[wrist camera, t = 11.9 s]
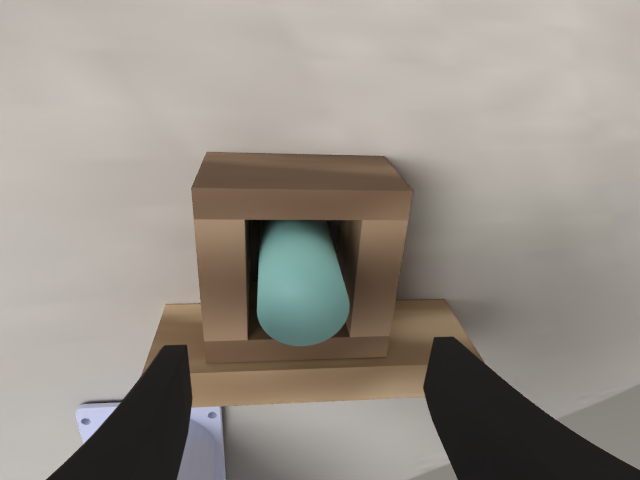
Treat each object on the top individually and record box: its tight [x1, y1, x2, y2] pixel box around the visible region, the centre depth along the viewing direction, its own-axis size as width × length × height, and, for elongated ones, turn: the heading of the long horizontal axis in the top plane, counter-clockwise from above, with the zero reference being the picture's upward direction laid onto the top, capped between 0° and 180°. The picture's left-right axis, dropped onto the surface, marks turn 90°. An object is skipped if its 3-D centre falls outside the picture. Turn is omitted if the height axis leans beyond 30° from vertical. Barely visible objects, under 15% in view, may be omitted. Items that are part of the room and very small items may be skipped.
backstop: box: [142, 299, 484, 408], centre depth 22 cm, size 2×15×5 cm, turn 87°
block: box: [191, 152, 413, 363], centre depth 20 cm, size 8×8×4 cm
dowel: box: [257, 220, 350, 346], centre depth 18 cm, size 3×3×7 cm
